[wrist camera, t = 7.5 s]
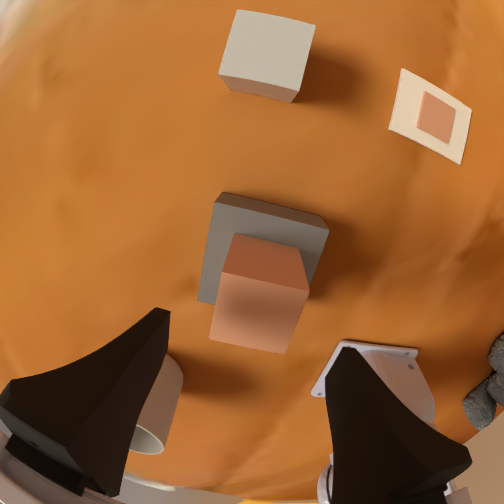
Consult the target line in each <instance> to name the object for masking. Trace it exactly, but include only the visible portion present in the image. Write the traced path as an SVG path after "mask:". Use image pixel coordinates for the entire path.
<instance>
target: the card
mask: <svg viewBox="0 0 504 504" xmlns="http://www.w3.org/2000/svg"><path fill="white" fill-rule="evenodd" d="M471 112H472V110H471V109H470V108H468V107H467V106H466V105H464V104H463V103H461V102H460V101H458V100H457V99H455V98H454V97H452V96H451V95H449V94H447V93H446V92H444V91H443V90H441V89H439V88H438V87H436V86H434V85H433V84H431V83H429V82H428V81H426V80H424V79H422V78H420V77H419V76H417V75H415V74H413V73H411V72H409V71H407V70H405V69H401V73H400V79H399V84H398V89H397V94H396V98H395V103H394V107H393V112H392V116H391V120H390V124H389V128H388V129H389V130H391V131H393V132H396V133H398V134H400V135H402V136H404V137H407V138H409V139H411V140H413V141H415V142H417V143H419V144H421V145H423V146H425V147H427V148H429V149H431V150H433V151H435V152H436V153H438V154H440V155H442V156H444V157H446V158H447V159H449V160H451V161H453V162H454V163H456V164H458V165H460V164H461V160H462V156H463V152H464V147H465V143H466V138H467V134H468V129H469V123H470V118H471Z"/></svg>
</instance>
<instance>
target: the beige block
mask: <svg viewBox="0 0 504 504" xmlns="http://www.w3.org/2000/svg"><path fill="white" fill-rule="evenodd" d="M315 26H316V25H313V24H309V23H305V22H301V21H297V20H293V19H289V18H285V17H280V16H275V15H270V14H264V13H259V12H252V11H246V10H238V9H237V12H236V15H235V18H234V22H233V25H232V28H231V31H230V34H229V38H228V41H227V44H226V48H225V51H224V55H223V58H222V62H221V66H220V69H219V73H218V75H219V76H220V77H221V78H222V80H223V81H224V82H225V84H226V85H227V86H228V87H229V89H230V90H233V91H239V92H244V93H249V94H254V95H259V96H263V97H268V98H272V99H276V100H280V101H284V102H288V103H291V102H292V100H293V99H294V98H295V96H296V95H297V94H298V92H299V90H300V86H301V82H302V78H303V74H304V70H305V66H306V62H307V58H308V54H309V50H310V46H311V42H312V38H313V34H314V30H315Z"/></svg>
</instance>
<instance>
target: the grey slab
mask: <svg viewBox="0 0 504 504" xmlns="http://www.w3.org/2000/svg"><path fill="white" fill-rule="evenodd" d="M329 231H330V230H329V228H328V227H327V225H326V224H325V222H324V221H323V219H322V217H321V216H318V215H314V214H311V213H307V212H303V211H299V210H295V209H291V208H288V207H284V206H280V205H276V204H272V203H268V202H264V201H259V200H255V199H251V198H247V197H242V196H238V195H234V194H229V193H225V192H222V193H221V194H220V196H219V197H218V198H217V199H216V201H215V202H214V207H213V213H212V218H211V223H210V228H209V234H208V239H207V244H206V250H205V256H204V261H203V267H202V273H201V279H200V285H199V292H198V298H197V301H200V302H204V303H208V304H212V305H215V304H216V298H217V293H218V289H219V284H220V279H221V274H222V270H223V267H224V263H225V260H226V257H227V254H228V251H229V248H230V244H231V241H232V238H233V235H234V233H236V234H240V235H244V236H249V237H253V238H257V239H261V240H266V241H270V242H274V243H278V244H283V245H287V246H291V247H295V248H299V251H300V255H301V259H302V263H303V266H304V270H305V274H306V278H307V282H308V286H309V287H310V284H311V282H312V279H313V276H314V273H315V271H316V268H317V265H318V262H319V260H320V257H321V254H322V251H323V248H324V245H325V243H326V240H327V237H328V234H329Z"/></svg>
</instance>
